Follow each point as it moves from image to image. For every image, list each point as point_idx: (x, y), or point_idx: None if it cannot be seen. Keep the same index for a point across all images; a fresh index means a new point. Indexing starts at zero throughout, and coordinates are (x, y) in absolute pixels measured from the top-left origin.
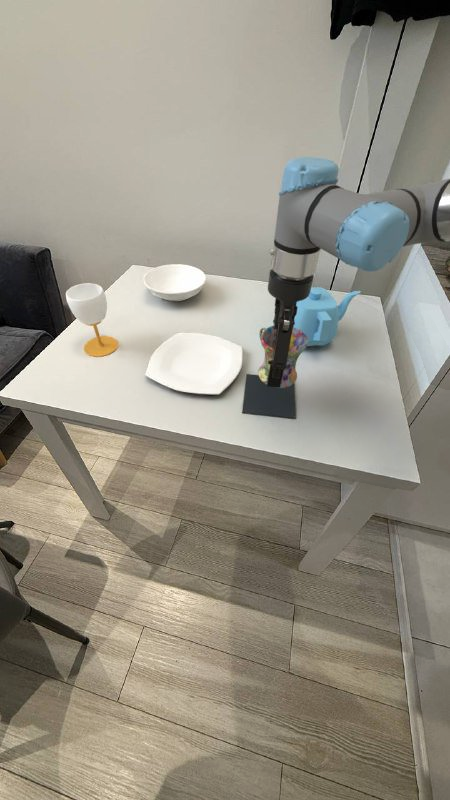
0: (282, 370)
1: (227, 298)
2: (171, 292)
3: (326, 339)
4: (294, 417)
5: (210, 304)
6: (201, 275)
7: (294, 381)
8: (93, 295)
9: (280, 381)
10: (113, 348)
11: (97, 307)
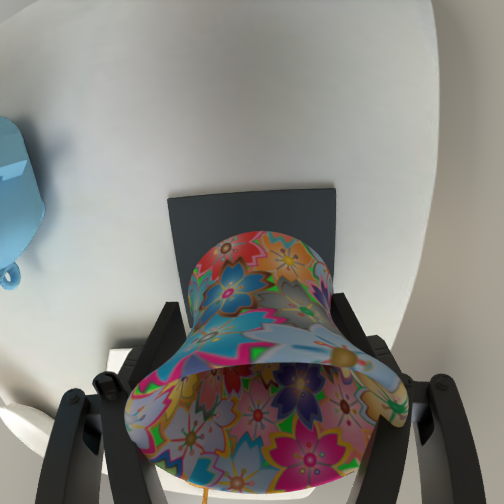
0: (370, 348)
1: (2, 355)
2: None
3: (19, 137)
4: (334, 193)
5: (30, 382)
6: (4, 409)
7: (298, 241)
8: None
9: (351, 311)
10: None
11: None
